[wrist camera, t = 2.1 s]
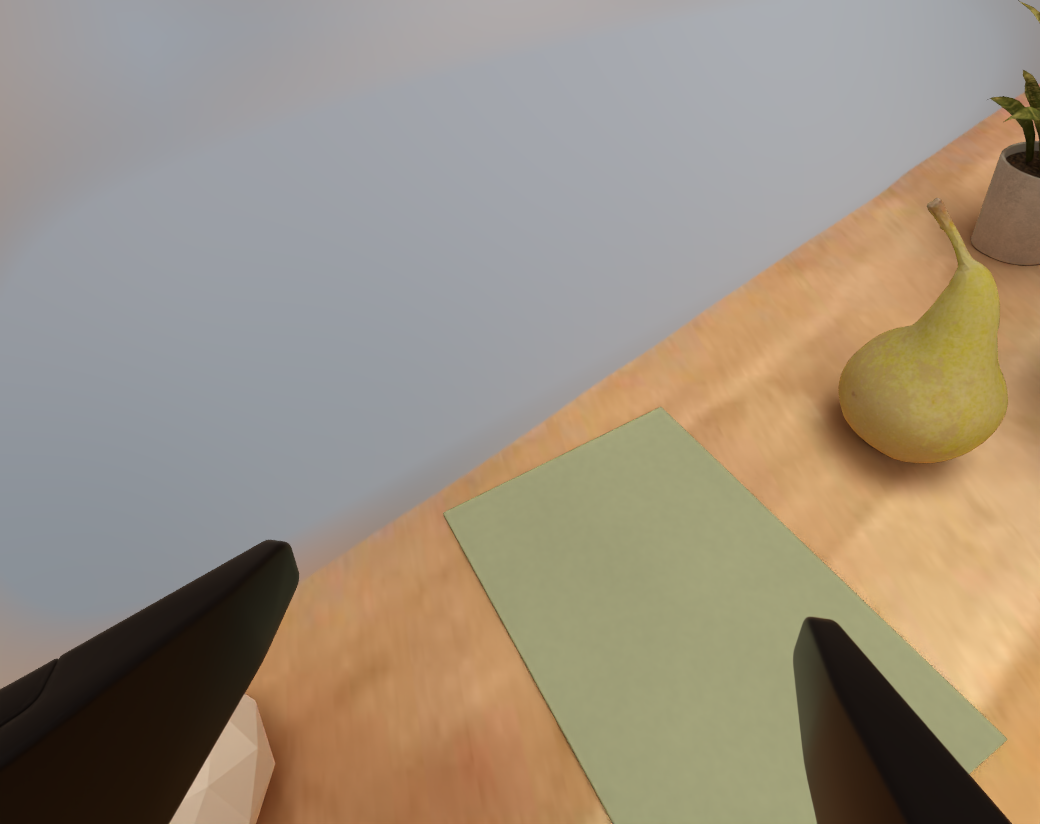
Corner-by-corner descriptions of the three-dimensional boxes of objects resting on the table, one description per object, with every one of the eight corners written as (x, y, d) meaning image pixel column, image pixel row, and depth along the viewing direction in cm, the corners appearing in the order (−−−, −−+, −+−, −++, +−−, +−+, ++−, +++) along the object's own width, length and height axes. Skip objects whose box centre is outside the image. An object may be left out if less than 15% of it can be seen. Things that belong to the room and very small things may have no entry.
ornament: (59, 819, 21) (48, 624, 20) (274, 775, 24) (279, 602, 23) (-38, 1048, 15) (-64, 788, 13) (270, 952, 18) (276, 728, 16)
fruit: (887, 508, 28) (1030, 310, 19) (788, 407, 33) (867, 213, 24) (993, 466, 29) (1173, 263, 21) (883, 375, 34) (990, 179, 26)
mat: (1004, 741, 21) (1008, 739, 21) (710, 1003, 17) (712, 1003, 17) (660, 409, 34) (660, 406, 33) (443, 515, 29) (442, 512, 29)
